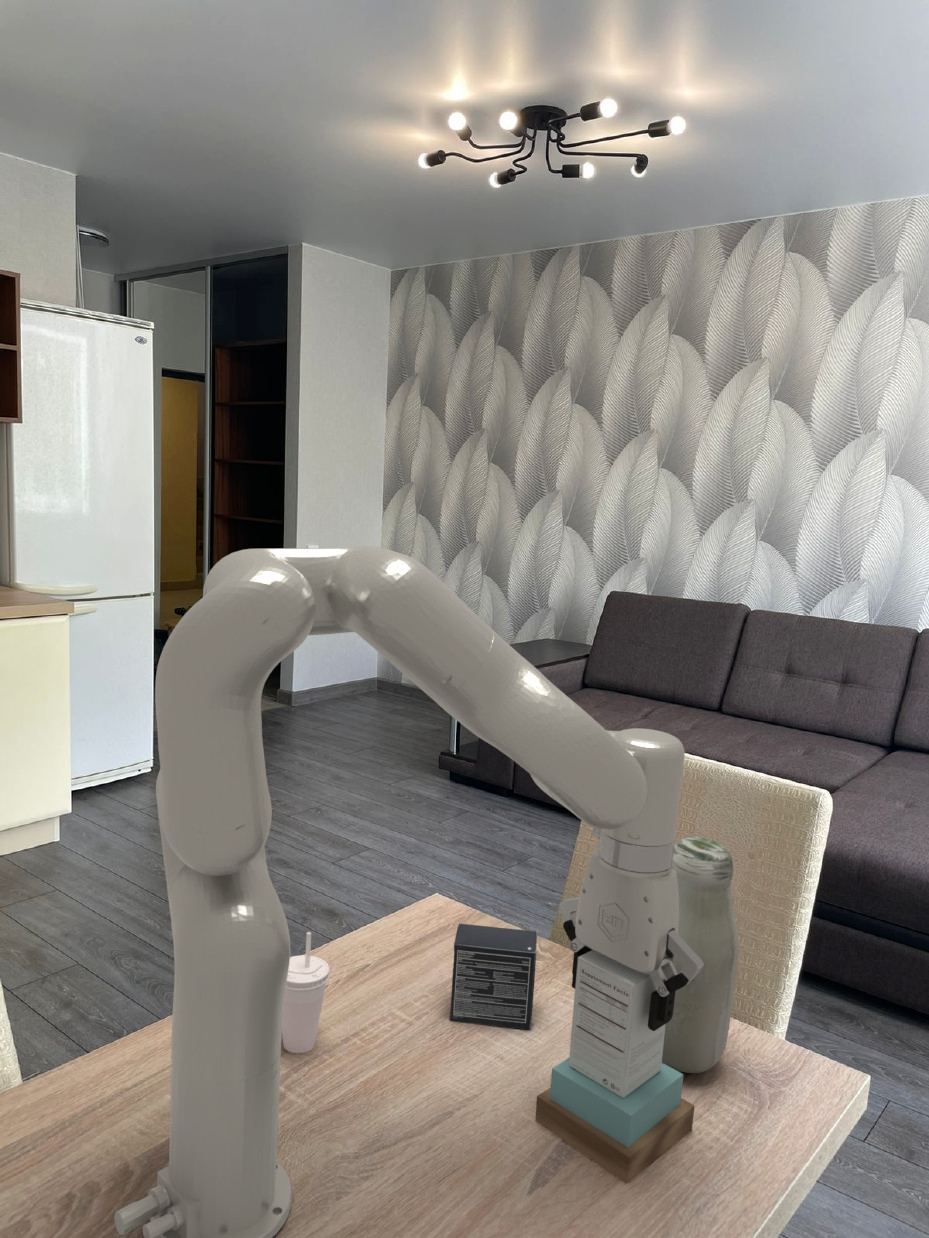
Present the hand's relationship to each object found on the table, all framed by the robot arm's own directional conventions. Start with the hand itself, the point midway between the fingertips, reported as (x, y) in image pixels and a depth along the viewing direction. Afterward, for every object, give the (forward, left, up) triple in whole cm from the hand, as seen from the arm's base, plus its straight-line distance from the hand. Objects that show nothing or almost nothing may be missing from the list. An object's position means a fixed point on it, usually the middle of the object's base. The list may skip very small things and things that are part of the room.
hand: (619, 1004), depth 98 cm
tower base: (+1, 0, -15) cm, 15 cm away
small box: (+6, +23, -14) cm, 28 cm away
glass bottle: (+16, +1, -14) cm, 22 cm away
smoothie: (-17, +33, -14) cm, 40 cm away
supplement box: (0, 0, -8) cm, 8 cm away
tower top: (0, 0, -11) cm, 11 cm away
